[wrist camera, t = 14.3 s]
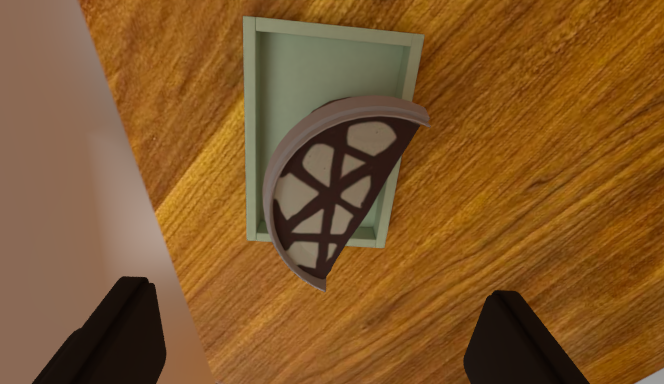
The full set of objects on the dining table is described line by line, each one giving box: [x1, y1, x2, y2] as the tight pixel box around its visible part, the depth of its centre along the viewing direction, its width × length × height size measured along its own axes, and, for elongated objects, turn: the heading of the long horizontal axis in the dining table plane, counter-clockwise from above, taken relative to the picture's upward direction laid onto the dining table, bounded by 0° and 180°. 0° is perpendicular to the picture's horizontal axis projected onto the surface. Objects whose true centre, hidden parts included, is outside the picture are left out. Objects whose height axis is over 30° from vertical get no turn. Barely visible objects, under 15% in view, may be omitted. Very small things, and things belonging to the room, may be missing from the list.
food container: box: [263, 95, 431, 292], centre depth 22 cm, size 12×6×10 cm, turn 153°
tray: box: [243, 16, 425, 248], centre depth 26 cm, size 12×17×3 cm
